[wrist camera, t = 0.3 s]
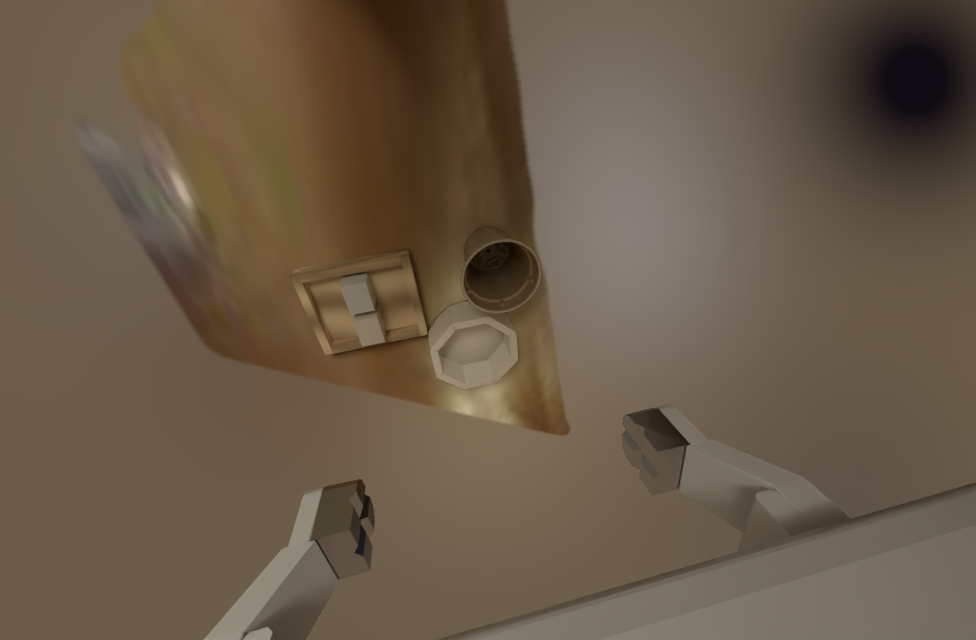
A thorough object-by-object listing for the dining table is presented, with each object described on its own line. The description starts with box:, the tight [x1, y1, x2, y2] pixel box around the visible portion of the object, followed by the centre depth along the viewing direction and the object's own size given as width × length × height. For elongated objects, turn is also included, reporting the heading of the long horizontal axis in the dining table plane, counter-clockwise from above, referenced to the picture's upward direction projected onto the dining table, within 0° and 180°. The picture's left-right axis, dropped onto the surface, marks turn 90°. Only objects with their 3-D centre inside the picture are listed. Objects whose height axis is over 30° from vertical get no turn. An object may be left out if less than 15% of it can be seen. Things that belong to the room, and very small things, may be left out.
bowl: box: [428, 300, 518, 390], centre depth 54 cm, size 12×12×5 cm
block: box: [353, 303, 386, 347], centre depth 49 cm, size 4×3×4 cm
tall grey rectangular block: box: [340, 271, 376, 315], centre depth 46 cm, size 4×3×4 cm
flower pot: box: [461, 227, 542, 313], centre depth 45 cm, size 9×9×9 cm
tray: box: [290, 249, 428, 355], centre depth 48 cm, size 12×14×2 cm
